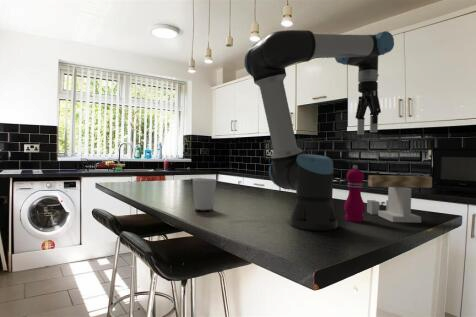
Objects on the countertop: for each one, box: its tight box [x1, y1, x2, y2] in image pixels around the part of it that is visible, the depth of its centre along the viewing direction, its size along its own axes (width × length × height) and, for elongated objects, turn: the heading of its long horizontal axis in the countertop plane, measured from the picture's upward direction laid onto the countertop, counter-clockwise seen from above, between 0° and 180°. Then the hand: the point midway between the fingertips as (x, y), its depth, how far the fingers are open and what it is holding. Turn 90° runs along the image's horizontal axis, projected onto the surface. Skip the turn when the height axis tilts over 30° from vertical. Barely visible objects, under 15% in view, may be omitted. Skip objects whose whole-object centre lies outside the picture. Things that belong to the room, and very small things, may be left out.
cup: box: [192, 177, 217, 212], centre depth 131 cm, size 10×10×13 cm
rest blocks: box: [366, 199, 388, 215], centre depth 131 cm, size 11×5×5 cm, turn 90°
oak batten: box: [367, 174, 433, 189], centre depth 119 cm, size 22×4×4 cm, turn 90°
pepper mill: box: [343, 164, 366, 223], centre depth 116 cm, size 7×7×20 cm
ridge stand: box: [377, 187, 422, 223], centre depth 120 cm, size 10×12×12 cm
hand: (366, 133), depth 133 cm, fingers open, 13 cm apart
